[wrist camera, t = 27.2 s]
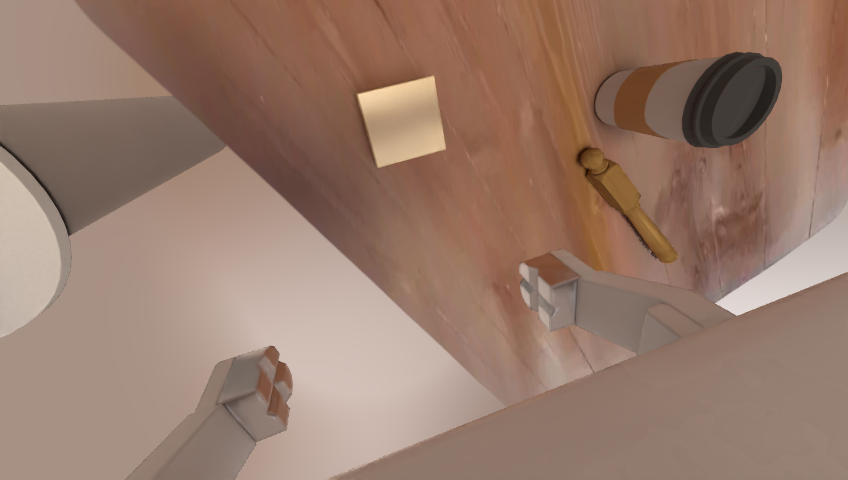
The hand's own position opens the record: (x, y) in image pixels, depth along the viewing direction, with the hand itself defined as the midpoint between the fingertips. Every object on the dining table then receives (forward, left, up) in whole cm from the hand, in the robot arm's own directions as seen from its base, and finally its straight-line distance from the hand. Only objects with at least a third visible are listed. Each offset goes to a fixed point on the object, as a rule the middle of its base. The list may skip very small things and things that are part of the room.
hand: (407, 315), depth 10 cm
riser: (+5, +4, -29) cm, 30 cm away
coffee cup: (+33, +10, -29) cm, 45 cm away
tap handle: (+43, -5, -29) cm, 52 cm away
